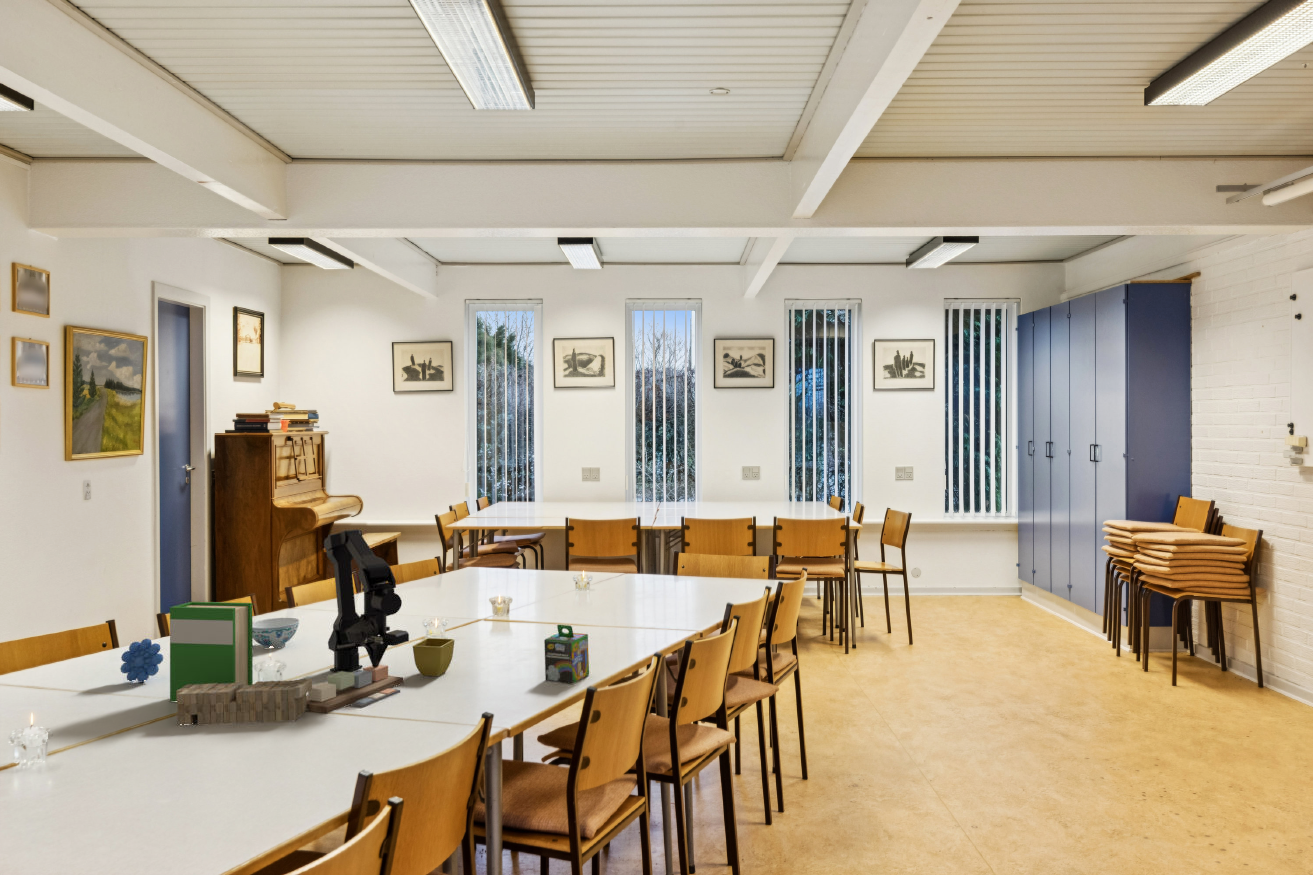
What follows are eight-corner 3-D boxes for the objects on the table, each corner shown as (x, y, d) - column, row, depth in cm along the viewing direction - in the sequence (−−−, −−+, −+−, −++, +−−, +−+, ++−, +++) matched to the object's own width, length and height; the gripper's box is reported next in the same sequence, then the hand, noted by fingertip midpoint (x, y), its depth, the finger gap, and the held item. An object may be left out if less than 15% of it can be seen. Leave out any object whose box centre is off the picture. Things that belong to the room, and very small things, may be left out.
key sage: (327, 687, 196) (327, 675, 196) (341, 682, 200) (341, 671, 200) (340, 689, 194) (340, 677, 194) (354, 684, 198) (354, 672, 198)
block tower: (171, 730, 178) (301, 721, 181) (169, 694, 178) (299, 685, 181) (189, 718, 186) (313, 710, 188) (187, 683, 186) (312, 675, 189)
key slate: (345, 685, 201) (345, 674, 201) (358, 681, 206) (358, 669, 206) (358, 687, 200) (358, 676, 200) (371, 682, 204) (371, 671, 204)
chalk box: (589, 675, 215) (589, 622, 215) (572, 684, 206) (572, 629, 207) (561, 671, 218) (561, 619, 219) (543, 680, 210) (543, 626, 210)
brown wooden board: (291, 707, 190) (291, 700, 190) (370, 678, 214) (370, 672, 214) (327, 713, 185) (327, 707, 185) (403, 682, 209) (403, 677, 209)
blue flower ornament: (172, 677, 217) (172, 634, 217) (156, 684, 210) (156, 640, 210) (131, 677, 217) (131, 635, 217) (114, 684, 210) (114, 640, 211)
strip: (351, 705, 191) (351, 702, 191) (389, 690, 203) (389, 687, 203) (362, 707, 189) (362, 703, 189) (400, 692, 201) (400, 688, 201)
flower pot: (440, 679, 212) (440, 646, 212) (411, 677, 214) (411, 645, 214) (455, 670, 221) (455, 638, 221) (427, 668, 223) (427, 637, 223)
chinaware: (308, 644, 253) (308, 620, 253) (264, 654, 240) (264, 629, 240) (282, 638, 261) (282, 615, 261) (238, 648, 248) (238, 624, 248)
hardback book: (252, 695, 200) (252, 602, 201) (232, 704, 193) (232, 608, 193) (191, 692, 203) (191, 601, 203) (170, 701, 195) (169, 607, 196)
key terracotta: (363, 679, 207) (363, 668, 207) (375, 674, 211) (375, 663, 211) (375, 681, 205) (375, 670, 205) (388, 676, 209) (388, 665, 209)
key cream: (308, 699, 190) (308, 687, 190) (322, 694, 195) (322, 682, 195) (321, 701, 189) (321, 689, 189) (336, 696, 193) (335, 684, 193)
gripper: (326, 612, 205) (326, 671, 205) (379, 618, 197) (380, 679, 197) (358, 604, 215) (358, 660, 215) (410, 609, 207) (410, 667, 207)
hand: (375, 667), depth 208 cm, fingers closed, pressing on key terracotta
